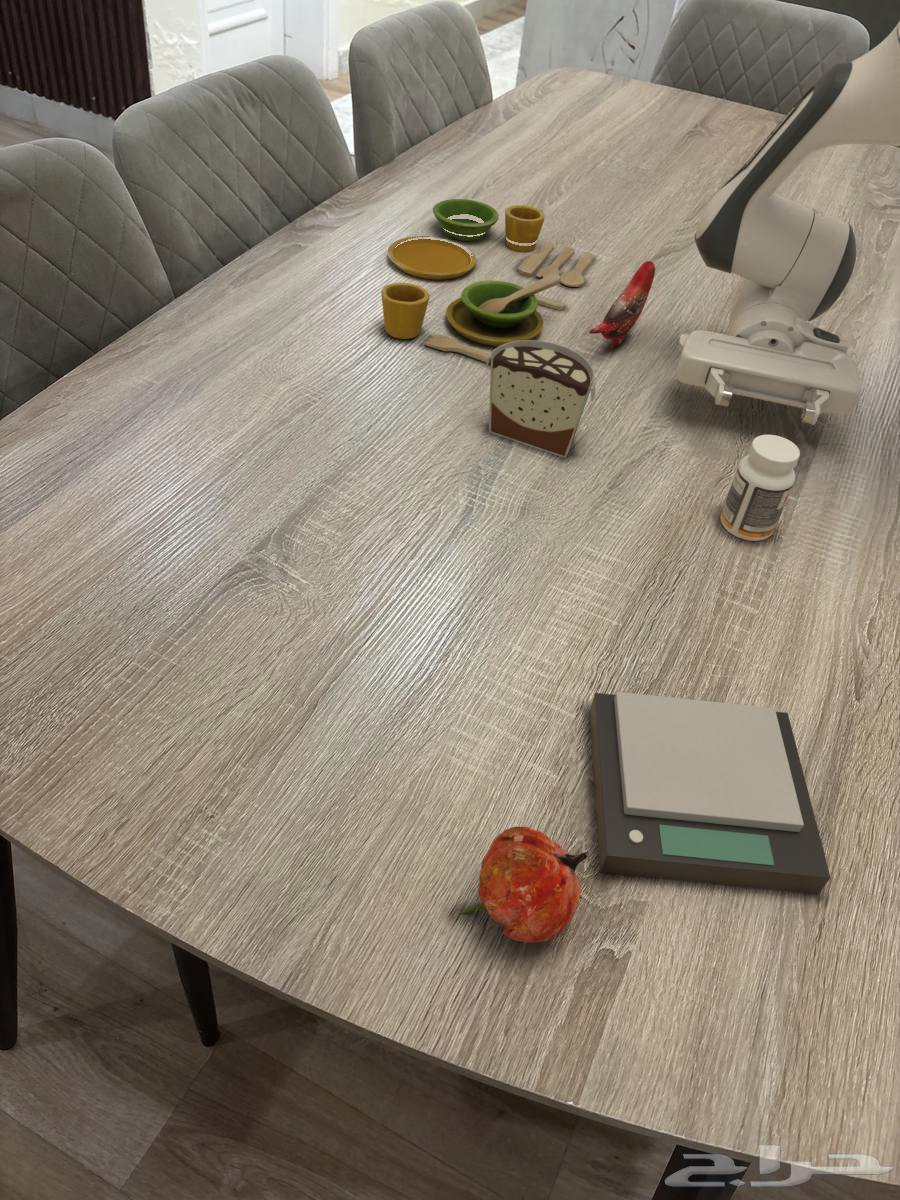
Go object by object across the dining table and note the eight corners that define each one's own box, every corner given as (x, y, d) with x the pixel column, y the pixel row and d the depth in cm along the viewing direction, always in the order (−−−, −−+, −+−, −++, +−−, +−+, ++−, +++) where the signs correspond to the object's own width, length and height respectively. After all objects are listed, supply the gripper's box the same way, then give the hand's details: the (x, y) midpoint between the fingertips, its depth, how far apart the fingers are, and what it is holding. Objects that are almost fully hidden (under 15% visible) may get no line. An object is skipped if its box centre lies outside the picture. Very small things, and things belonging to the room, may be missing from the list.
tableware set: (511, 379, 115) (519, 332, 111) (311, 319, 121) (311, 272, 117) (604, 257, 143) (613, 215, 139) (438, 213, 150) (442, 172, 145)
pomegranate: (487, 985, 63) (621, 942, 60) (428, 931, 60) (568, 882, 56) (486, 890, 69) (608, 847, 66) (432, 836, 65) (559, 787, 62)
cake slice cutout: (595, 436, 108) (614, 358, 101) (578, 463, 104) (596, 384, 97) (497, 404, 111) (508, 326, 104) (476, 429, 107) (487, 350, 100)
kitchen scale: (777, 731, 79) (792, 704, 76) (818, 895, 68) (836, 870, 66) (588, 711, 78) (597, 684, 76) (599, 873, 68) (609, 847, 65)
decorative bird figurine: (648, 329, 128) (667, 259, 121) (589, 381, 117) (606, 306, 110) (629, 322, 129) (647, 252, 122) (569, 373, 118) (584, 298, 111)
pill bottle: (780, 523, 99) (814, 446, 92) (761, 551, 96) (795, 472, 89) (730, 501, 101) (759, 424, 94) (709, 527, 98) (739, 449, 91)
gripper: (686, 306, 111) (679, 363, 101) (862, 342, 109) (872, 403, 99) (672, 354, 115) (664, 413, 105) (841, 389, 113) (849, 452, 103)
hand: (766, 409), depth 102 cm, fingers open, 8 cm apart
